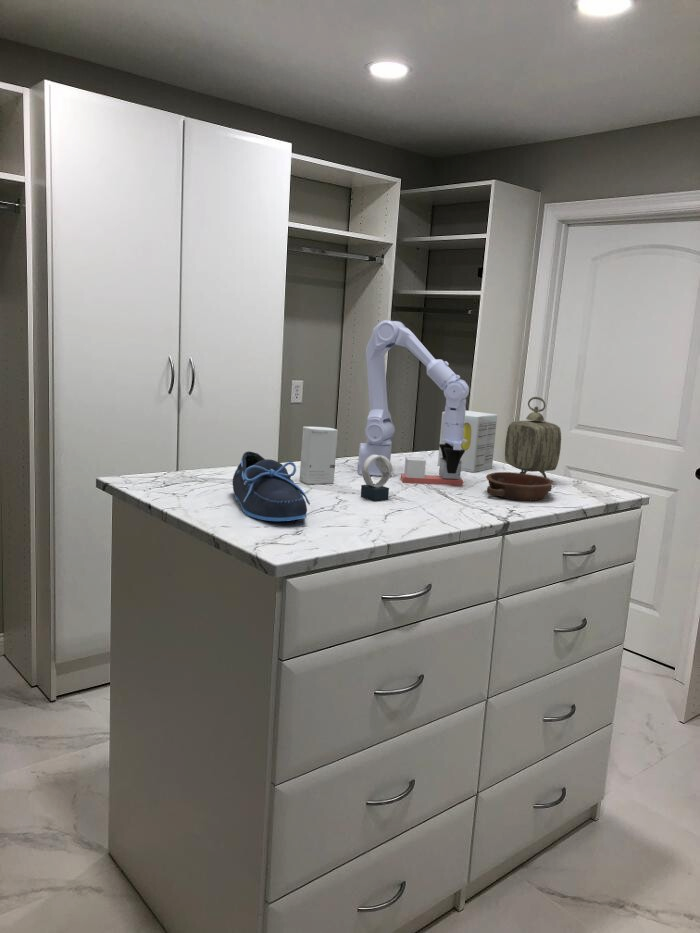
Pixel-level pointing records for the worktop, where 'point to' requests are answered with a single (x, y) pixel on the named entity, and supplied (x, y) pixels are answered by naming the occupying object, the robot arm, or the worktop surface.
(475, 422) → the supplement box
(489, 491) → the dish
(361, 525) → the worktop surface
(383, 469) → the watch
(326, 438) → the skincare box
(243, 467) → the moccasin
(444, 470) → the grey cube
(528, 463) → the tabletop clock
